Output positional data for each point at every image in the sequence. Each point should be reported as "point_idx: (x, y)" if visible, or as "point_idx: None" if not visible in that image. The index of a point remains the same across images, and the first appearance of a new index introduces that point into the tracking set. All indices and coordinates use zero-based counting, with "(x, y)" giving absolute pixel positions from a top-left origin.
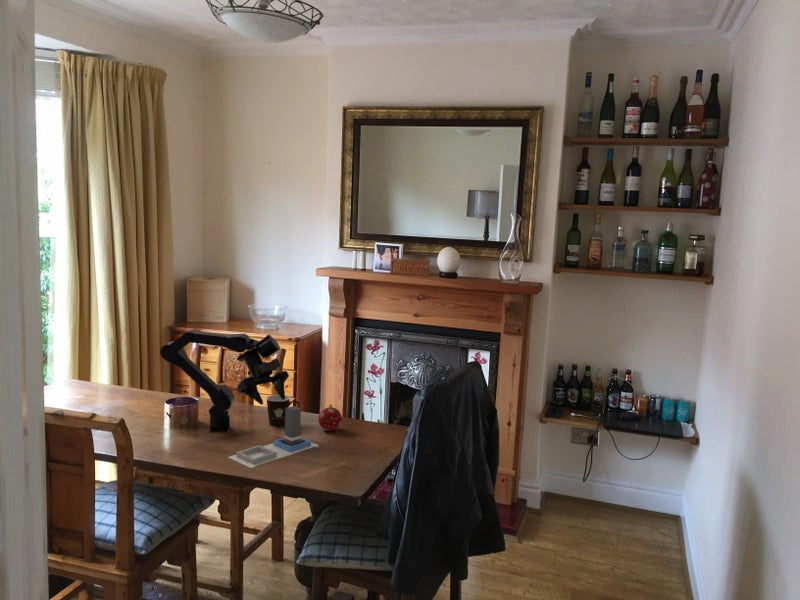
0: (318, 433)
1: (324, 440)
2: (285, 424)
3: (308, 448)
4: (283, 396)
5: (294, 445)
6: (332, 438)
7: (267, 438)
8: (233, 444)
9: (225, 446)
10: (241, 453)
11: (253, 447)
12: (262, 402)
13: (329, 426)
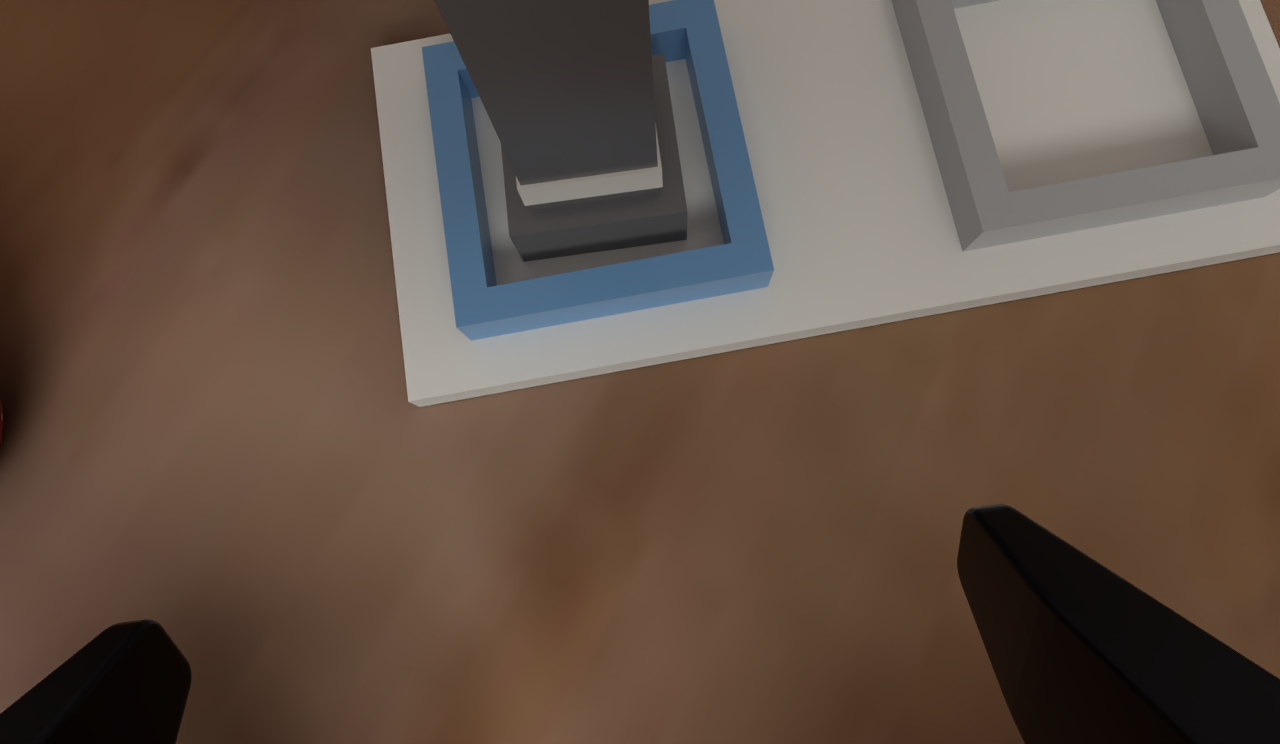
0: (112, 426)
1: (205, 210)
2: (651, 69)
3: None
4: (107, 679)
5: None
6: (105, 215)
7: (676, 612)
8: None
9: (1234, 648)
10: (1260, 113)
11: (1070, 204)
12: (1010, 517)
13: None
